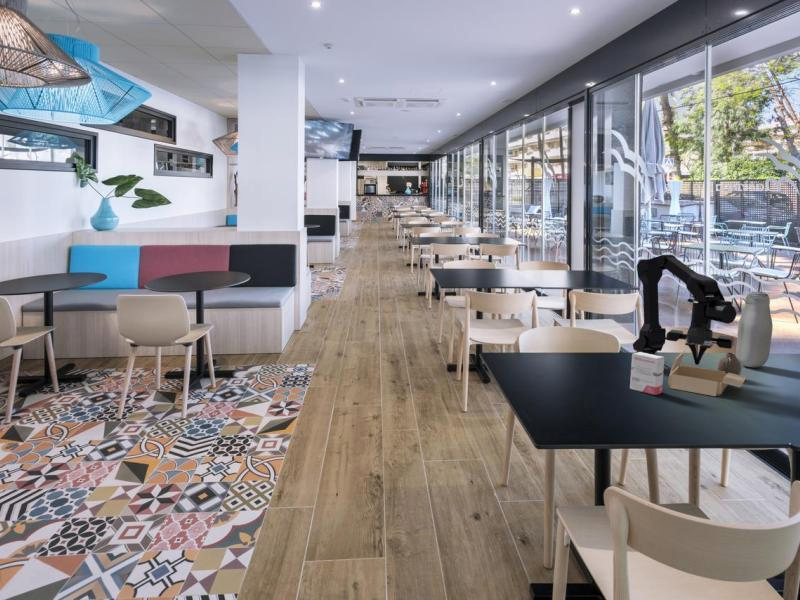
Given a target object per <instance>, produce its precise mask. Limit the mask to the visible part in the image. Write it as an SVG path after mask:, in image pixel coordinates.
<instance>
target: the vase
mask: <svg viewBox="0 0 800 600" xmlns="http://www.w3.org/2000/svg"><path fill="white" fill-rule="evenodd" d="M717 370H718V371H725V373H726V374H728V373H733V374H737V375H741V372H742V364H741V363H740V362H739V360H738V359H737V355H736V353H734V352H726V354H725V355H724V356H723V357H722V358H721V359H720V360H719V361H718V364H717Z"/></svg>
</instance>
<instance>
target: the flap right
mask: <svg viewBox="0 0 800 600" xmlns="http://www.w3.org/2000/svg"><path fill="white" fill-rule="evenodd" d="M746 379H747V376H744V375H742V374H740V375H737V374H733V373H728V374H727V375H726V377H725V378H724V380H723V381H722V383H725V384H727V385H729V386H732V387H733V386H734V387H737V388H741V387H742V385H743V384H744V382H745V380H746Z"/></svg>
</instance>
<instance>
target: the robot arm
mask: <svg viewBox="0 0 800 600" xmlns="http://www.w3.org/2000/svg"><path fill="white" fill-rule="evenodd" d="M664 270H667V271H668V272H669V273H671V274H672V275H673V276H674V277H676V278H677V279H678V280H680V281H682V282H683V283H684V284H685V287H686V290H687V291H688V292H689V293H690V294H691V295H692V296H691V297H689V298H688V299H687V300H686V301H687V302H689V303H692V306H691V307H692V308H691V310H692V311H691V316H690V317H691V319H690V325H689V327H688V331H687V332H686V333H684V330H678V329H671V330H669V331H668V332H667V331H666V330H667V329H666V327H664V328H663V327H662V326H661V324H660V315H659V314H660V313H659V310H660V307H659V282H660V280H661V279H662V277H663V272H664ZM636 271H637V278H638V279H639V280H640V282H641V284H642V293H643V294H642V300H643V324H642V326H641V328H640V330H639V332H638V333H639V335H638V338H637V339H636V340H635V341H634V342H633V343H632V348H633V350H634V351H636V353H638V352H643V353H648V354H652V355H657V356H659V354H658V352H659V351H660V352H661V351H662V349H663V347H664V345H665V344H666V341H670V342H677V341H679V340H685V343H684V345H685V346H688V348H689V349H690V351H691V353H692V357H693V360H694V364H695V365H697V366H698V365H700V363H701V360H702V359H703V356H704V355H705V353H706V351H707V350H708V349H711V348H712V347H713V345H714V344H716V345H717V347H718V348H721V349H729V350H731V349H732V348H733V347H734V346H735V345H734V344H735V339H734V338H733V336H727V335H719V336H718V337H713V334H714V333H713V330H712V329H711V328H712V321H714V322H718V323H722V324H728V325H729V324H731V323H733V322H734V321H735V319H736V318H737V317H736V316H737V311H736V308H735V306H734V305H733V302H732V301H730V300H726V298H725V297H724V295H723V293H722V291H721V289H720V286H719V283H718V281H717V280H716V279H714V278H712V277H709V276H708V275H703V274H702V273H701V274H700V273H697V271H695V270H694V269H692V268H691V267H689V266H688V265H686V264H685V263H684V262H682V261H681V260H679V259H678V258H677V257H676V255H674V254H660V255H659V256H655V257H651V258H644V259H641V260H639V261H638V263H637V264H636ZM666 332H667V333H666Z"/></svg>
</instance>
